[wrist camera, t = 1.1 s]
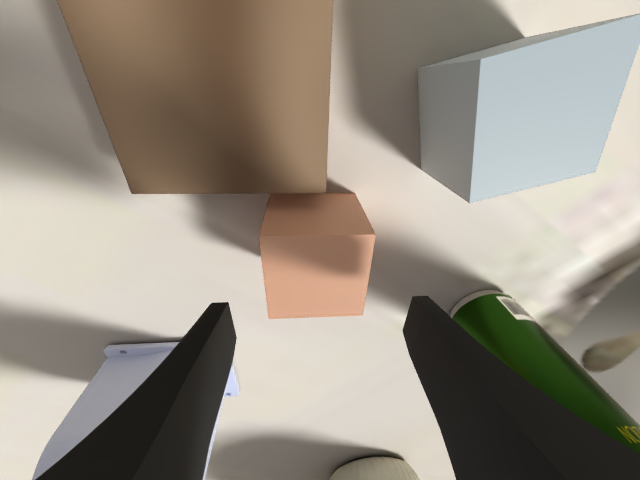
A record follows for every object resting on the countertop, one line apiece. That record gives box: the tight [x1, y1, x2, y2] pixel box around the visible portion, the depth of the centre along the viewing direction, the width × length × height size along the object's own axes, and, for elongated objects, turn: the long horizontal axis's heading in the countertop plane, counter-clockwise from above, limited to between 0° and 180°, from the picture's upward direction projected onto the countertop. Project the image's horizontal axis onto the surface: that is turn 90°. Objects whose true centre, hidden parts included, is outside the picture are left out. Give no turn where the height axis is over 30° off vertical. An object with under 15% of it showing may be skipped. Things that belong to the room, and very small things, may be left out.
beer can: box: [450, 290, 640, 454], centre depth 16 cm, size 5×5×12 cm
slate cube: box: [418, 14, 640, 203], centre depth 11 cm, size 5×5×5 cm
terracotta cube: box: [259, 193, 376, 319], centre depth 14 cm, size 5×5×5 cm
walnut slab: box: [57, 0, 333, 194], centre depth 11 cm, size 9×9×2 cm
